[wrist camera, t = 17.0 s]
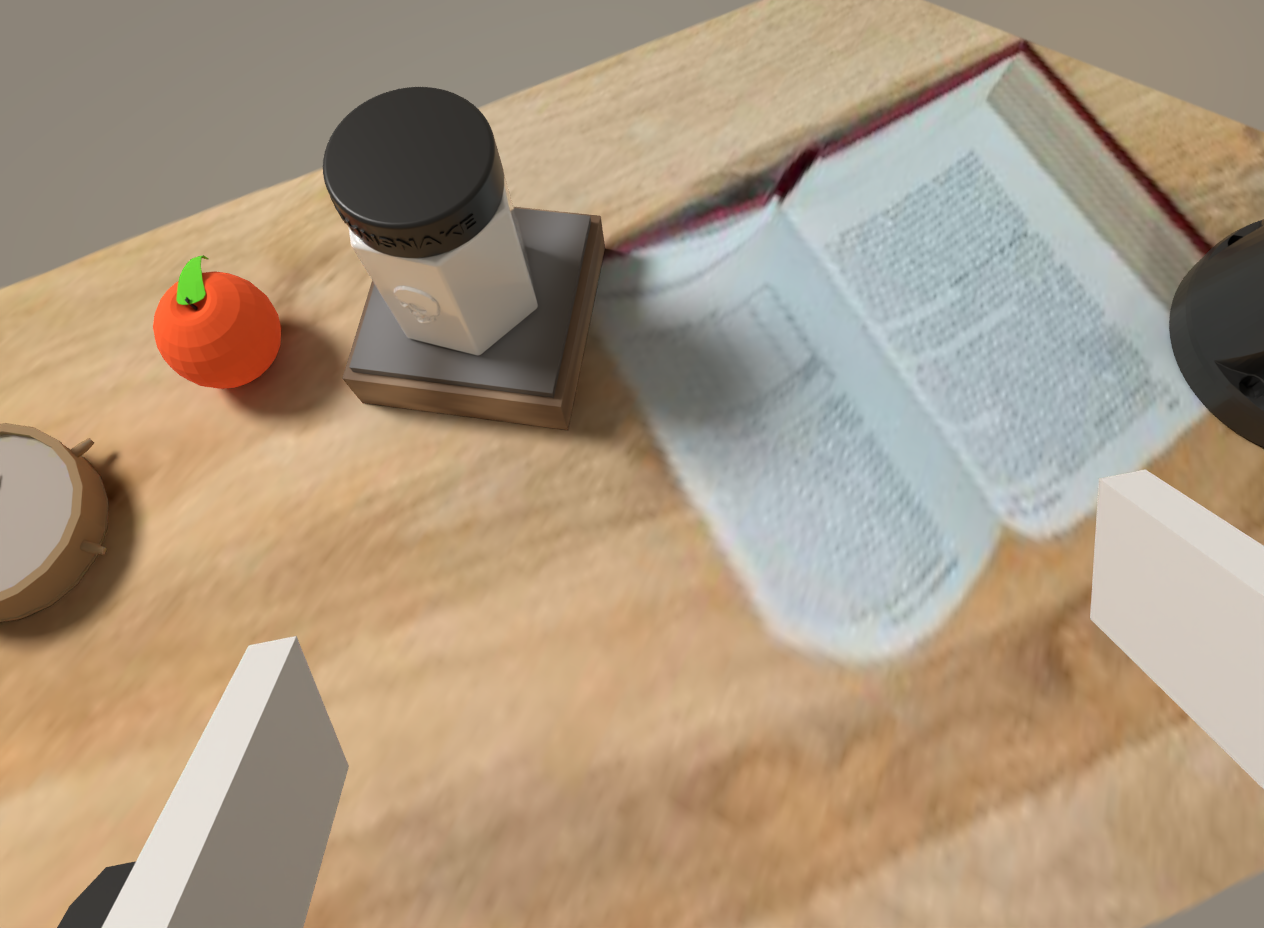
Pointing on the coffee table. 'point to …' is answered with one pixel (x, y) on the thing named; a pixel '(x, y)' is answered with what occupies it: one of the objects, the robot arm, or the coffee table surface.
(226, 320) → the clementine
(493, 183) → the jar
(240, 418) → the coffee table surface
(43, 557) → the alarm clock
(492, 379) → the stand
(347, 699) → the coffee table surface
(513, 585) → the coffee table surface
